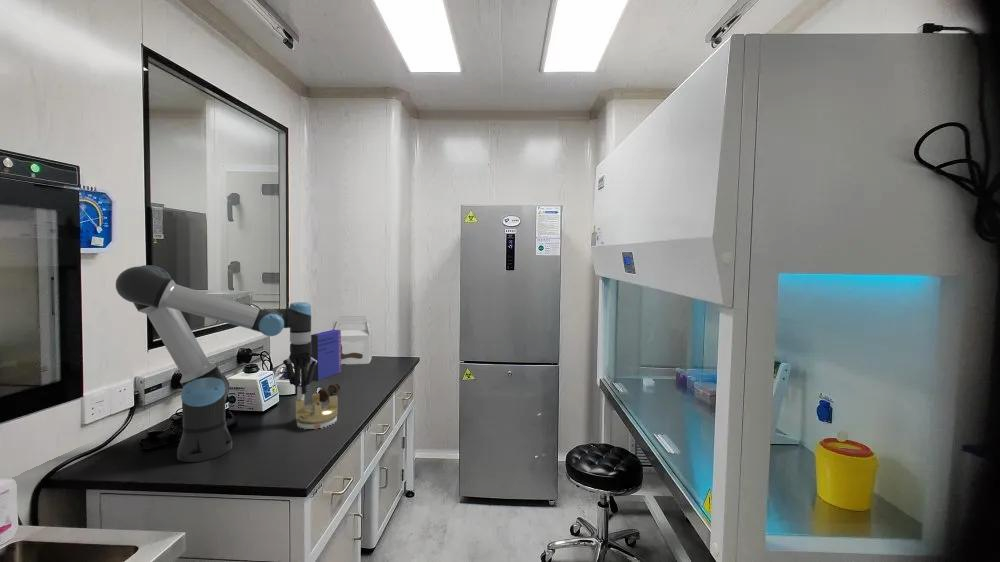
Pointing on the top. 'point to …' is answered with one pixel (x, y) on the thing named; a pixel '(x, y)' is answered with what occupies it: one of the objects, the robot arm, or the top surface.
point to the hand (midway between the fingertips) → (300, 401)
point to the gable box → (356, 339)
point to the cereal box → (326, 353)
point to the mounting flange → (318, 425)
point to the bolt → (328, 391)
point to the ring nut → (316, 410)
